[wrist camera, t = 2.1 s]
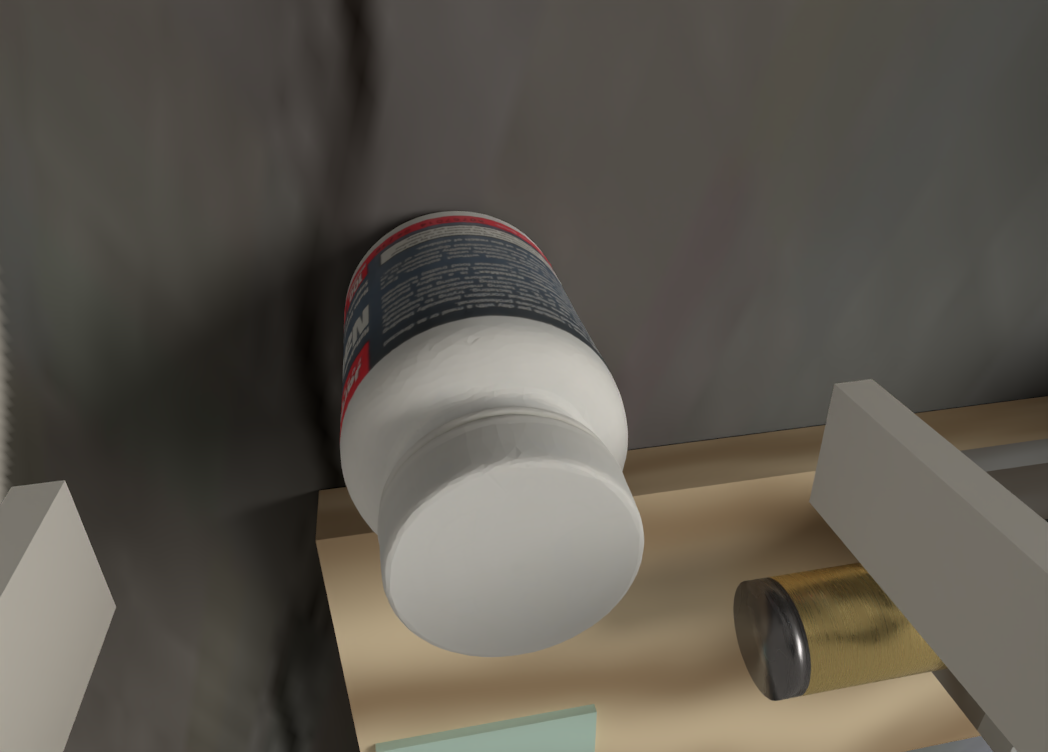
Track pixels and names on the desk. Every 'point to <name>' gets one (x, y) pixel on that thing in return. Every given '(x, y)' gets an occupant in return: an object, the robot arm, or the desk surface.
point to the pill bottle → (483, 440)
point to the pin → (824, 633)
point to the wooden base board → (667, 619)
